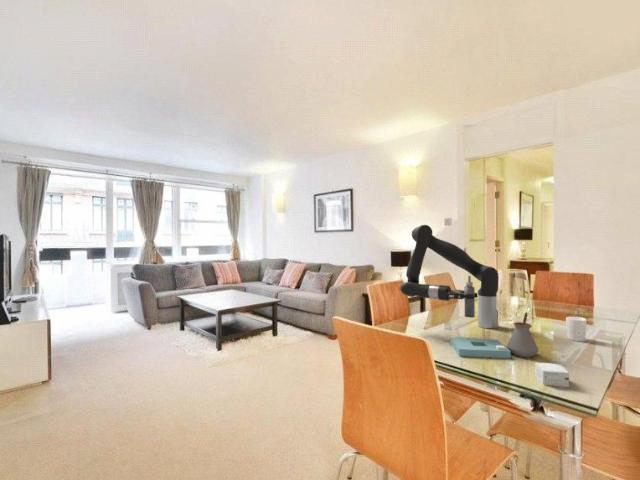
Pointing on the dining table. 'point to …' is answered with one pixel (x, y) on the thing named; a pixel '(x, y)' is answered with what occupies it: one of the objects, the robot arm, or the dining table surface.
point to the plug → (469, 302)
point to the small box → (552, 374)
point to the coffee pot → (522, 340)
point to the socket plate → (480, 348)
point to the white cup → (576, 328)
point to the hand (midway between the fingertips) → (475, 296)
